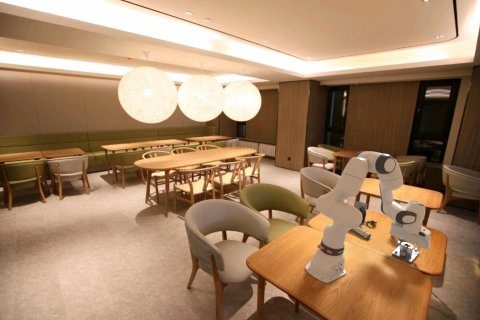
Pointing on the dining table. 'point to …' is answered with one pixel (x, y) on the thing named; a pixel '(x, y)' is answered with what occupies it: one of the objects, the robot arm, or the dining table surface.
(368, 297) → the dining table surface
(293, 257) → the dining table surface
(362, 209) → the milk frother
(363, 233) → the grey brown bar
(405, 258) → the valve base
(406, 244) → the coupling
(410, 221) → the robot arm
